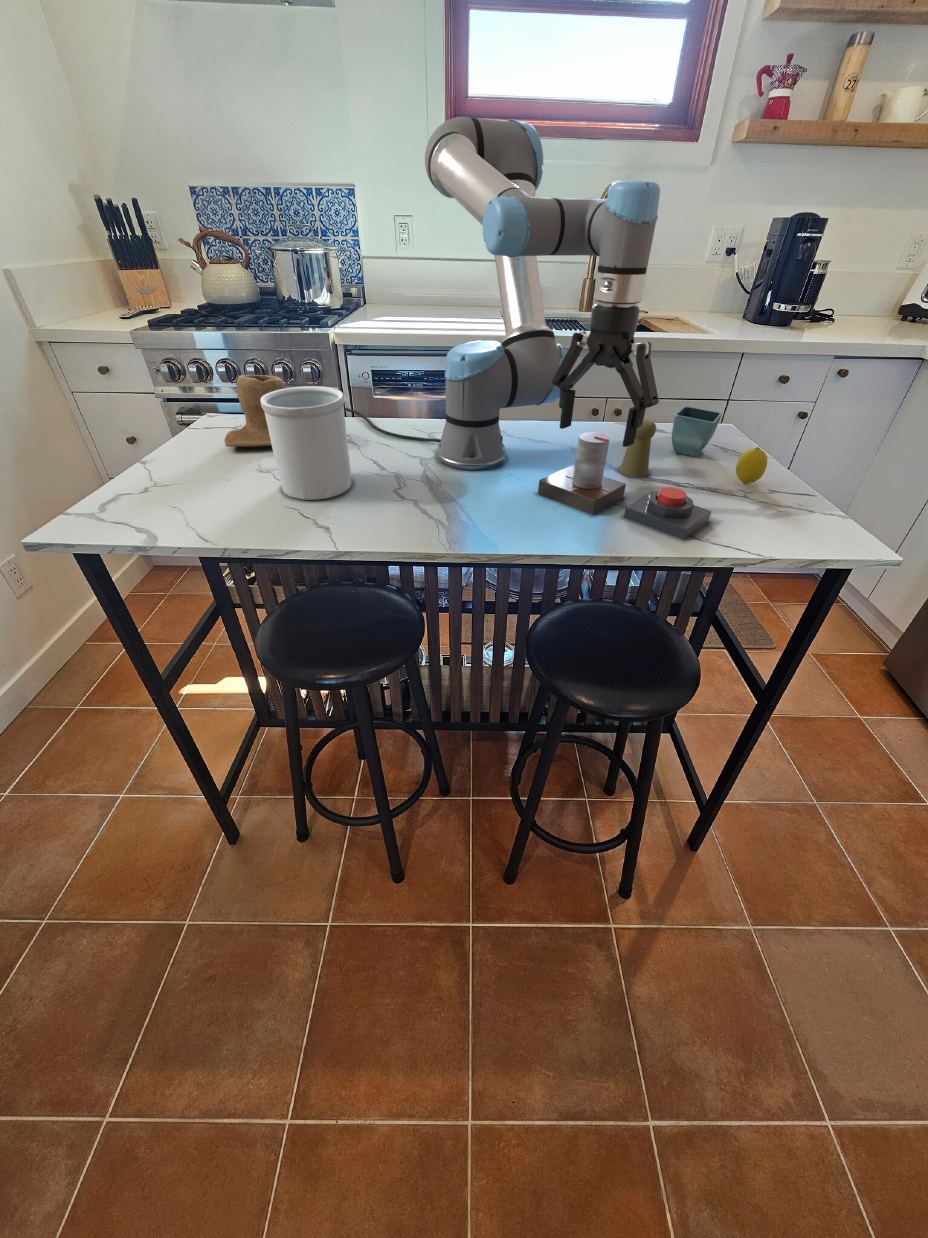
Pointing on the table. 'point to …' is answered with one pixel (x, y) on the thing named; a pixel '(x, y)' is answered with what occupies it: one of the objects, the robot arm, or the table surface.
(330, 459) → the utensil holder
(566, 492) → the control panel
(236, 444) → the tan felt boot
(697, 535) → the table surface
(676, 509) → the button box
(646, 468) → the olive pawn figure
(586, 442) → the knob
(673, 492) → the button
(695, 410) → the flower pot
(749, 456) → the lemon
